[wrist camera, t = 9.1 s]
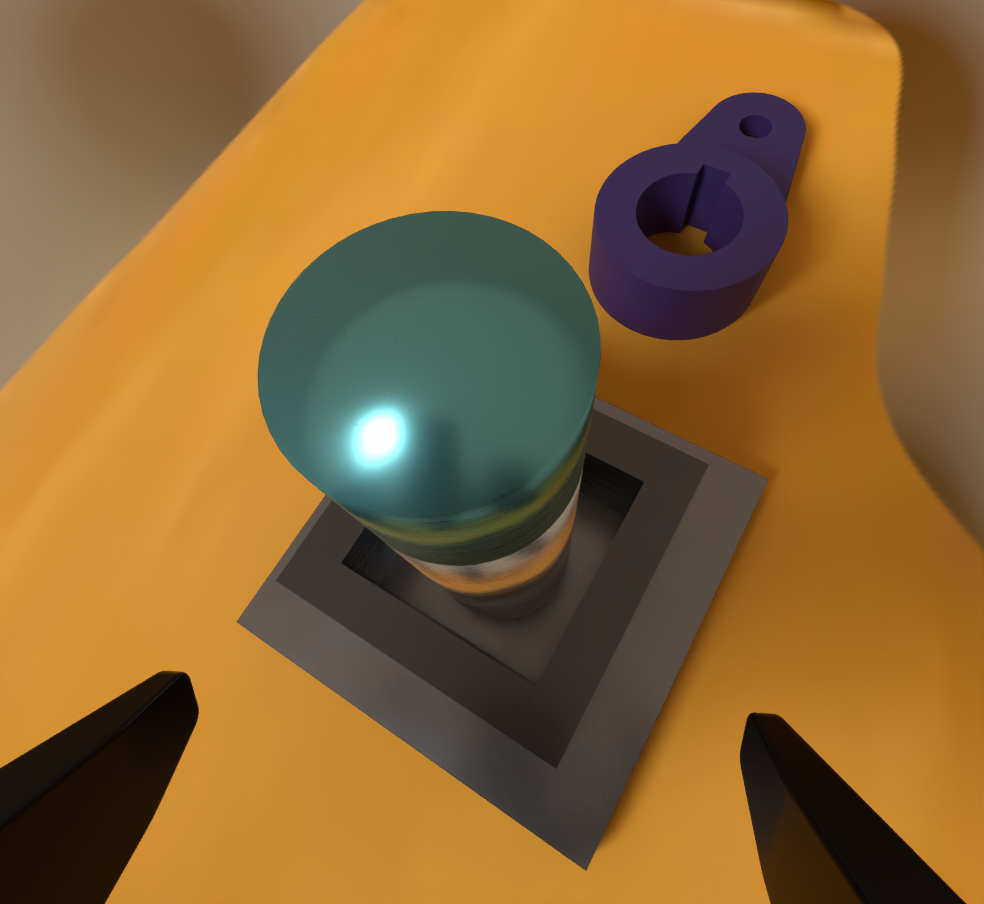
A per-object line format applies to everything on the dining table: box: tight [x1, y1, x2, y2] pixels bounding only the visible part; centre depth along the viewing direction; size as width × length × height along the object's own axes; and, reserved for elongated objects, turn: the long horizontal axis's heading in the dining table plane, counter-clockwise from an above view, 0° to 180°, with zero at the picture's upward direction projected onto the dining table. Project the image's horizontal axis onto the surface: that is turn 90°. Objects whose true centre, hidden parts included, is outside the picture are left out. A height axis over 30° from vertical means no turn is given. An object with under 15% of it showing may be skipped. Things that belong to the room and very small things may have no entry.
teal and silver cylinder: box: [258, 211, 601, 620], centre depth 12 cm, size 4×4×12 cm
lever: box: [589, 93, 806, 340], centre depth 22 cm, size 12×6×3 cm, turn 148°
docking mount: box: [237, 397, 768, 870], centre depth 17 cm, size 12×12×4 cm
